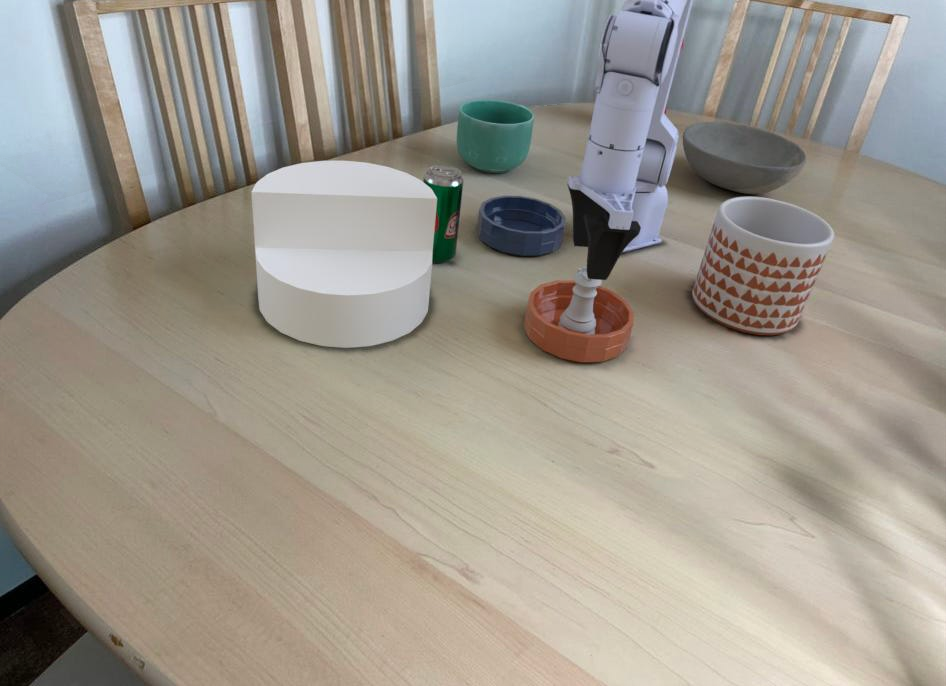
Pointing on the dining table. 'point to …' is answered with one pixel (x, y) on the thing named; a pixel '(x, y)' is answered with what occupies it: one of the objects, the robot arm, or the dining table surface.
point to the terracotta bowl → (598, 347)
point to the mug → (494, 134)
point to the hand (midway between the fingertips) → (589, 261)
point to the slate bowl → (520, 225)
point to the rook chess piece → (581, 305)
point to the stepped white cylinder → (343, 251)
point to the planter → (761, 264)
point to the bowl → (741, 156)
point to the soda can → (445, 209)
